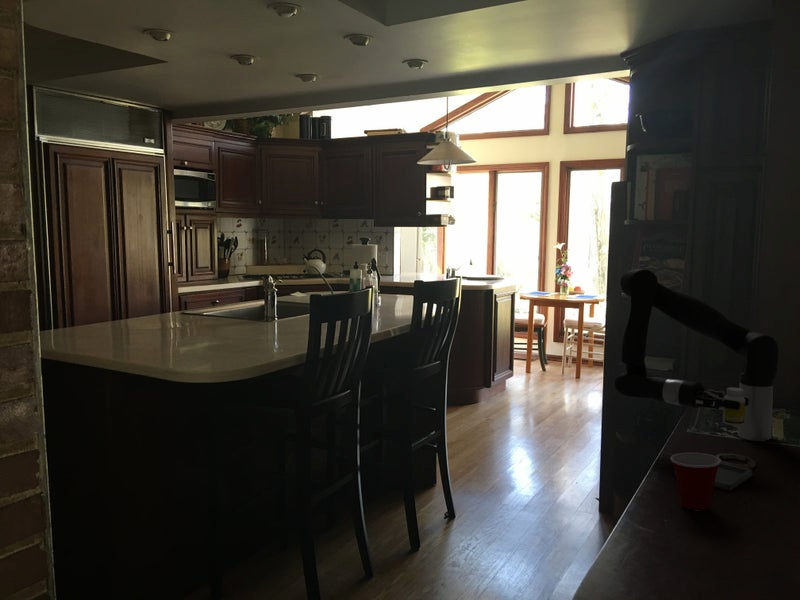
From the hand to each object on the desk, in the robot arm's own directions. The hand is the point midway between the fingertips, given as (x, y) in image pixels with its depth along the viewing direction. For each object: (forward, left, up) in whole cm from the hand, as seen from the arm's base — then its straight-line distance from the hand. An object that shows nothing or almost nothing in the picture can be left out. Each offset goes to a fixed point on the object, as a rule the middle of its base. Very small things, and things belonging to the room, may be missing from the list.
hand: (743, 404), depth 174 cm
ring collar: (-1, -2, -18) cm, 18 cm away
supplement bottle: (0, -3, -6) cm, 7 cm away
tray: (+13, -2, -18) cm, 22 cm away
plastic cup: (+36, +3, -18) cm, 40 cm away
